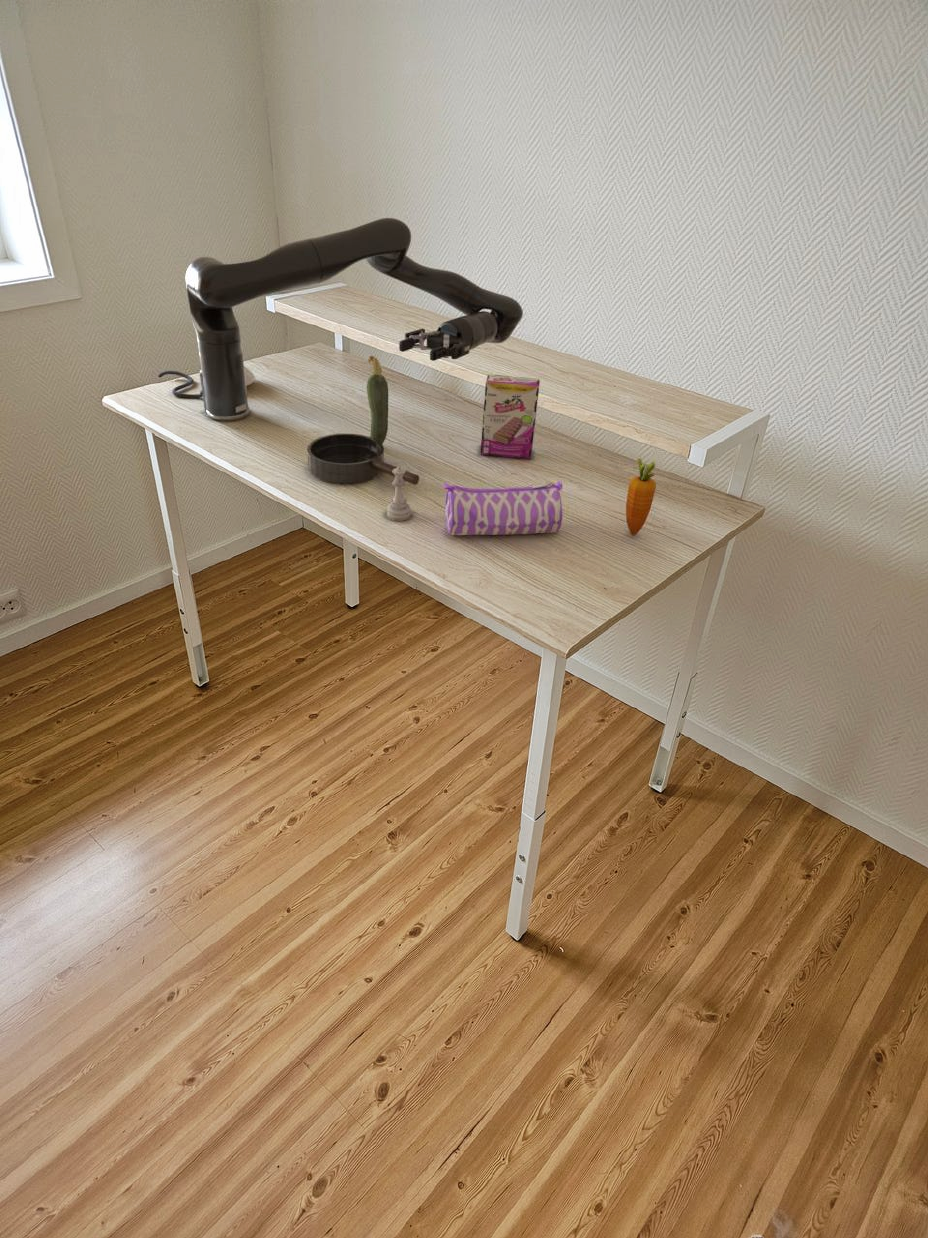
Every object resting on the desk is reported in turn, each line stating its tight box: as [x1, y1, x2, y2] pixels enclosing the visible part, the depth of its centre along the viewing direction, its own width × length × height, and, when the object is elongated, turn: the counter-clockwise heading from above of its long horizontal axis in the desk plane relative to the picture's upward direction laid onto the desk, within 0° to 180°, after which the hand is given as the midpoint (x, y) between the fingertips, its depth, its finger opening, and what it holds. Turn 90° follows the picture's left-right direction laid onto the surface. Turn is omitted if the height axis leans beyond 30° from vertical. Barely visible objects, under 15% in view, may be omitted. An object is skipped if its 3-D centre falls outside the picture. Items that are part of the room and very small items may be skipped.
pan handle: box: [371, 459, 420, 486], centre depth 162 cm, size 11×2×2 cm, turn 53°
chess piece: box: [386, 465, 412, 522], centre depth 152 cm, size 4×4×10 cm
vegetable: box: [366, 355, 389, 445], centre depth 173 cm, size 4×4×20 cm
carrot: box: [625, 457, 657, 536], centre depth 148 cm, size 5×5×15 cm
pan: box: [306, 432, 385, 485], centre depth 169 cm, size 15×15×4 cm
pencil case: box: [442, 480, 563, 536], centre depth 149 cm, size 22×9×10 cm, turn 102°
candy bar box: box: [480, 373, 541, 460], centre depth 175 cm, size 11×5×16 cm, turn 84°
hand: (415, 351), depth 176 cm, fingers open, 8 cm apart
